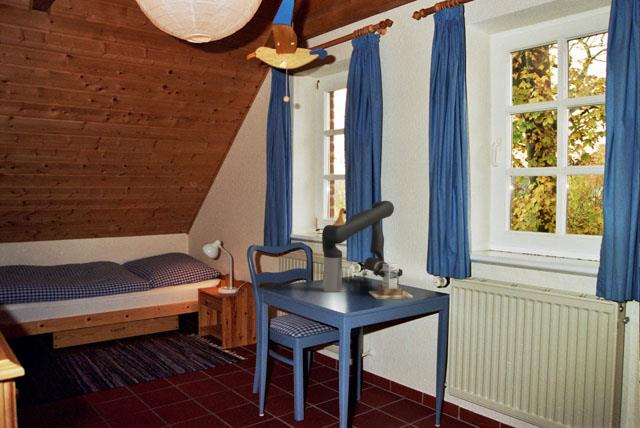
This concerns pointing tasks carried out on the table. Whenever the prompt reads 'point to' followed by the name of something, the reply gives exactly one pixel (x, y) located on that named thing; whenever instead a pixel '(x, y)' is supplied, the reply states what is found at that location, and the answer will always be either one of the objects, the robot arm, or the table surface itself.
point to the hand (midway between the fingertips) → (392, 274)
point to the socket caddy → (389, 293)
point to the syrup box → (391, 276)
